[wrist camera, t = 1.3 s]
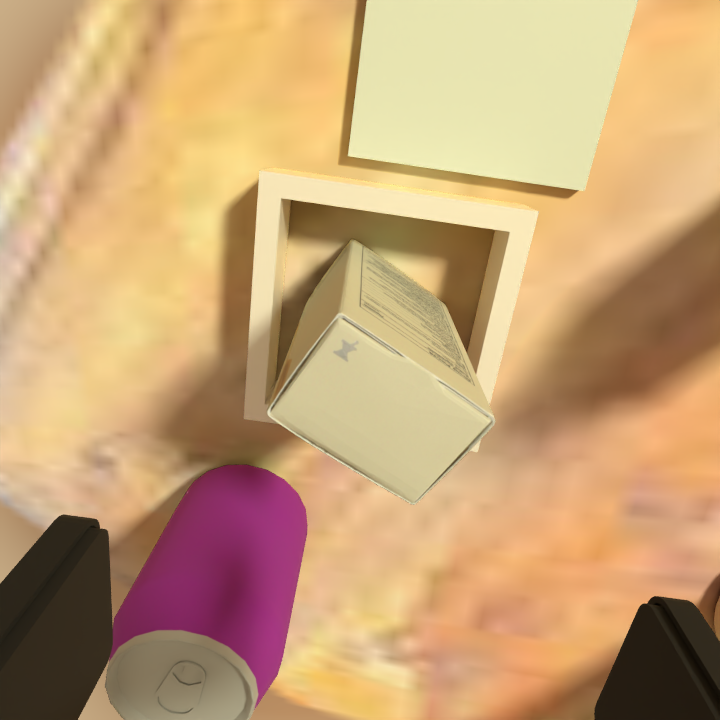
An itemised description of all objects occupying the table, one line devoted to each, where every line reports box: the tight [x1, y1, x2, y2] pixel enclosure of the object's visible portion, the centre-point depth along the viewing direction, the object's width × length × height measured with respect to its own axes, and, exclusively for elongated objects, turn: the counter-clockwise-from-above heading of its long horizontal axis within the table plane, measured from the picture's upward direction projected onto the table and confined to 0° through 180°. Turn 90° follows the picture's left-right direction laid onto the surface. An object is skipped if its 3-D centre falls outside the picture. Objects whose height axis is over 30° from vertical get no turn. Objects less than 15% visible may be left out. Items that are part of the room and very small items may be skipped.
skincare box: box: [267, 239, 495, 505], centre depth 23 cm, size 6×4×12 cm
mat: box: [348, 0, 638, 191], centre depth 23 cm, size 12×11×1 cm
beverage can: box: [105, 465, 307, 720], centre depth 28 cm, size 8×8×12 cm
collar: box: [243, 167, 539, 452], centre depth 27 cm, size 12×12×3 cm
